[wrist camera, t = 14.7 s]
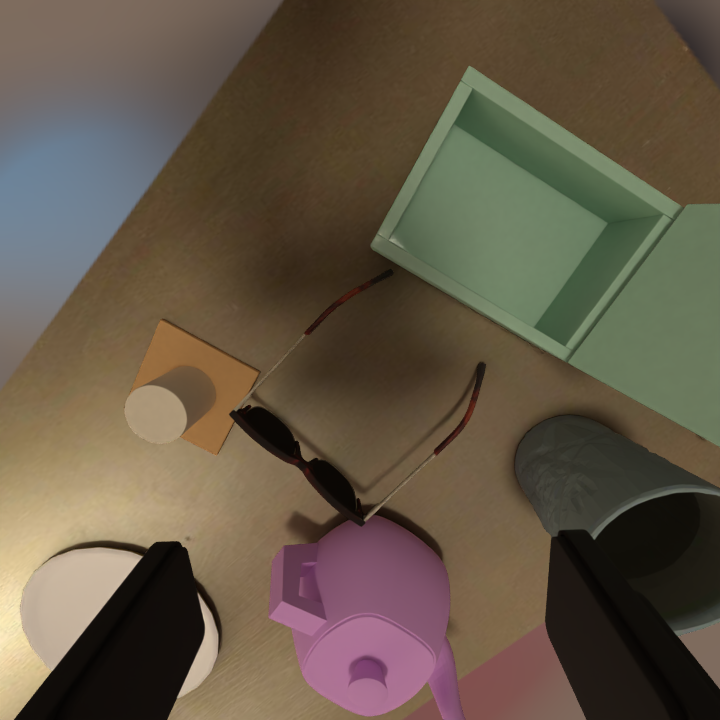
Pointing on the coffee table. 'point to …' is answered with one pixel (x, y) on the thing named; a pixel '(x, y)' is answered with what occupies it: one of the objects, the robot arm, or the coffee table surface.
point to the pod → (170, 404)
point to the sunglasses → (321, 472)
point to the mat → (223, 370)
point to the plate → (90, 605)
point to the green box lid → (667, 328)
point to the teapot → (368, 617)
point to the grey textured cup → (629, 513)
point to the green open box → (522, 218)
